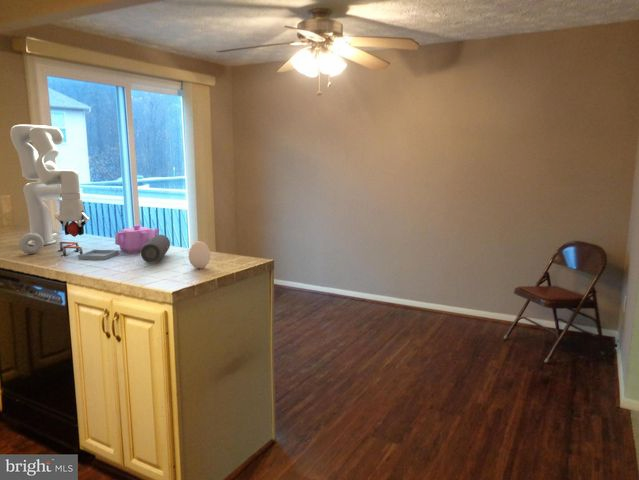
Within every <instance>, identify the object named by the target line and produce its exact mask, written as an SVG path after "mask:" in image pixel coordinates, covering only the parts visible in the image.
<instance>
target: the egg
mask: <svg viewBox="0 0 639 480" xmlns="http://www.w3.org/2000/svg"><path fill="white" fill-rule="evenodd" d="M188 260H189V263H190V264H191V266H192V267H194V268H195V269H199V268H200V269H203V268H205V267H206V266H207V265H208V264H209V262H210V261H211V252H210V248H209V247H208V245H207V244H206V243H205V242H204V241H202V240H197V241H195V242H193V244H192V245H191V246H190V248H189V250H188Z"/></svg>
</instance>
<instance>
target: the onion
mask: <svg viewBox="0 0 639 480" xmlns="http://www.w3.org/2000/svg"><path fill="white" fill-rule="evenodd" d="M78 227H79V225H78V223H77V221H70V222H69V225H68V227H67V231H68V233H69V234H68V235H71V236H72V237H73V238H74V237H75V238H76V237H77V236H79V234H78Z"/></svg>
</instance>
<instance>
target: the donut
mask: <svg viewBox="0 0 639 480" xmlns="http://www.w3.org/2000/svg"><path fill="white" fill-rule="evenodd" d="M31 240H34V241H35V245H32V246H30V245H29V244H28V242H29V241H31ZM43 243H44V242H43V239H42V237H41V236H40V235H38V234H36V233H30V232H29V233H26V234H24V235H22V236H21V237H20V238H19V243H18V246H19V248H20V250H21V251H22V252H23V253H25V254H28V255H34V254H37V253H39V252H41V250H42V249H43V247H44V245H43Z"/></svg>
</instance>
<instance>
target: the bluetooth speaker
mask: <svg viewBox="0 0 639 480" xmlns="http://www.w3.org/2000/svg"><path fill="white" fill-rule="evenodd" d="M170 246H171V241H170V239H169V237H167V236H166V235H165V234H157V235H156V236H154V237H153V238H151V239H150V240H149V241H148V242H147V243H146V244H145V245H144V246H143V247H142V249H141V252H140V257H141V258H142V260H143V261H144V262H145V263H149V264H152V263H159V262H160V261H161V260H162V259H163V257H164V256H165V255H166V254H167V252H168V251H169V249H170ZM161 258H162V259H161ZM158 261H159V262H158Z"/></svg>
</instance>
